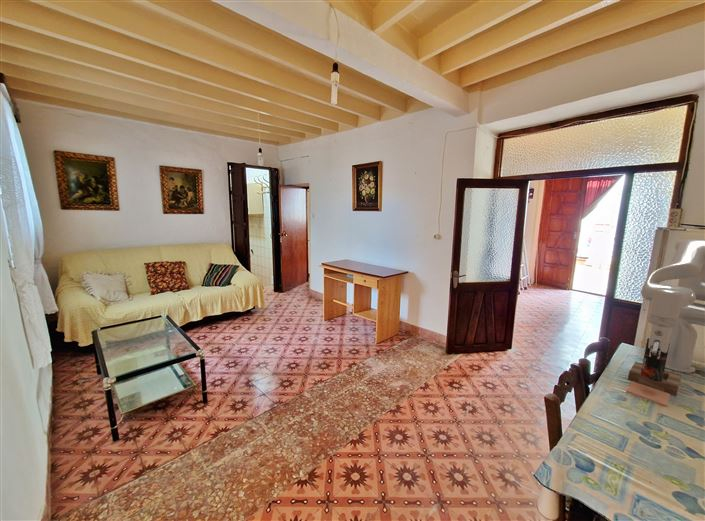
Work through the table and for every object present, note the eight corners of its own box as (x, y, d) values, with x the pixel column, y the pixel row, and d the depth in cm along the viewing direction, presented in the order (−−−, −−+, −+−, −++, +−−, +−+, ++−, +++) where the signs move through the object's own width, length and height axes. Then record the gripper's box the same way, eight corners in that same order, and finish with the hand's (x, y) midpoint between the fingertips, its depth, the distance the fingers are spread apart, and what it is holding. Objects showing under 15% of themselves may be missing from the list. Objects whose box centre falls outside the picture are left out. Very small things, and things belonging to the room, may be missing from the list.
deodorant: (666, 382, 110) (674, 344, 107) (650, 381, 110) (657, 344, 108) (652, 373, 115) (659, 338, 113) (636, 372, 116) (643, 337, 114)
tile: (631, 382, 122) (632, 381, 121) (669, 395, 113) (670, 394, 113) (626, 392, 115) (626, 390, 115) (666, 406, 106) (666, 404, 106)
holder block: (634, 369, 132) (635, 361, 132) (679, 383, 121) (681, 375, 121) (627, 379, 124) (629, 371, 123) (676, 396, 113) (678, 387, 112)
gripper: (674, 328, 101) (664, 376, 104) (679, 318, 111) (670, 362, 114) (644, 322, 107) (636, 367, 110) (652, 313, 117) (644, 354, 120)
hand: (653, 364), depth 112 cm, fingers closed on deodorant, 6 cm apart
